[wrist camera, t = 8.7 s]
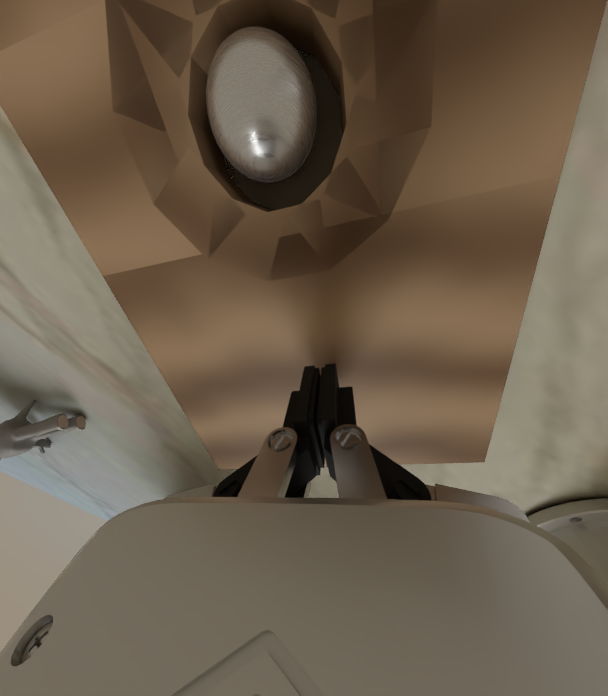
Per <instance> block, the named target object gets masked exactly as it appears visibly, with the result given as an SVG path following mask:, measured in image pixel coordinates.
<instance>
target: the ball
mask: <svg viewBox="0 0 608 696" xmlns="http://www.w3.org/2000/svg"><path fill="white" fill-rule="evenodd" d="M206 105H207V114H208V118H209V122H210V126H211V129H212V132H213V135H214V137H215V140H216V142H217V144H218V146H219V148H220V150H221V151H222V153H223V154H224V156H225V157H226V159H227V160H228V161H229V162H230V163H231V165H232V166H233V167H234V168H235V169H237V170H238V171H239V172H240V173H242V174H243V175H245V176H246V177H248V178H250V179H253V180H255V181H259V182H264V183H273V182H278V181H282V180H284V179H286V178H288V177H290V176H291V175H292V174H294V173H295V172H296V171H297V170H298V169H299V168H300V167H301V166H302V164H303V163H304V161H305V160H306V158H307V156H308V154H309V152H310V150H311V147H312V144H313V141H314V138H315V133H316V127H317V102H316V95H315V89H314V86H313V82H312V79H311V76H310V73H309V71H308V69H307V67H306V64H305V62H304V61H303V59H302V57H301V56H300V54H299V53H298V52H297V50H296V49H295V48H294V46H293V45H292V44H291V43H290V42H289V41H288V40H287V39H286V38H284V37H283V36H282V35H280V34H279V33H277V32H275V31H273V30H271V29H268V28H265V27H260V26H249V27H244V28H241V29H239V30H237V31H235V32H234V33H232V34H231V35H229V36H228V37H227V38H226V39H225V40H224V41H223V42H222V43H221V45H220V46H219V48H218V49H217V51H216V53H215V55H214V57H213V59H212V62H211V65H210V68H209V72H208V77H207V84H206Z"/></svg>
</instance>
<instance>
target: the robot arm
mask: <svg viewBox="0 0 608 696" xmlns="http://www.w3.org/2000/svg"><path fill="white" fill-rule="evenodd" d="M325 459H326V464H327V467H328V468H329V473H330V476H331V477H332V478H333V479H334V480H335V481H336V482H337V487H338V493H339V498H308V496H309V492H310V487H311V482H310V481H311V480H312V479H313V478H314V477H315V476H316V475H320V468H324V465H325ZM0 696H608V498H600V499H589V500H580V501H574V502H568V503H564V504H560V505H556V506H552V507H549V508H546V509H543V510H541V511H538V512H536V513H534V514H532V515H530V516H528V517H527V516H526V515H525V514H524V513H523V512H522V511H521V510H520V509H519V508H518V507H517V506H516V505H514V504H513V503H511V502H509V501H508V500H505V499H502V498H499V497H496V496H491V495H486V494H481V493H477V492H472V491H467V490H462V489H458V488H453V487H448V486H443V485H438V484H435V487H434V486H429V485H425V484H424V483H423V482H422V481H421V480H420V479H418V478H417V477H416V476H414V475H413V474H411V473H410V472H408V471H407V470H406V469H404V468H403V467H401V466H400V465H398V464H397V463H396V462H394V461H393V460H391V459H390V458H388V457H387V456H386V455H384V454H383V453H381V452H380V451H378V450H377V449H376V448H374V447H373V446H371V445H370V444H369V443H368V440H367V437H366V434H365V433H364V431H363V430H362V429H361V428H360V427H358V426H357V423H356V413H355V404H354V396H353V388H352V387H339V382H338V375H337V369H336V364H335V363H334V364H325V367H322V368H321V375H320V370H319V368H315V365H314V366H305V367H304V371H303V375H302V380H301V385H300V390H299V391H292V393H291V396H290V400H289V404H288V407H287V411H286V415H285V419H284V423H283V427H281V428H278V429H275V430H274V431H272V432H271V433H270V434H269V435H268V436H267V437H266V439H265V441H264V443H263V445H262V447H261V449H260V451H259V453H258V455H257V456H255V457H254V458H253V459H251V460H250V461H248V462H247V463H246V464H244V465H243V466H242V467H240V468H239V469H238V470H236V471H235V472H234V473H232V474H231V475H230V476H228V477H227V478H225V479H224V480H223V481H222V482H221V483H220V484H219V485H218V486H216V485H215V484H211V485H207V486H203V487H199V488H194V489H190V490H186V491H182V492H178V493H174V494H171V495H169V496H167V497H166V498H164V499H162V500H156V501H152V502H148V503H144V504H141V505H139V506H136V507H134V508H131V509H128V510H126V511H124V512H122V513H120V514H118V515H117V516H115V517H113V518H112V519H110V520H109V521H108V522H106V523H105V524H104V525H103V526H102V527H101V528H100V529H99V530H98V531H97V532H96V533H95V534H94V535H93V536H92V537H91V538H90V539H89V540H88V541H87V542H86V544H85V545H84V546H83V547H82V548H81V549H80V551H79V552H78V553H77V554H76V555H75V557H74V558H73V559H72V560H71V562H70V563H69V564H68V565H67V566H66V568H65V569H64V570H63V571H62V573H61V574H60V575H59V576H58V578H57V579H56V580H55V582H54V583H53V584H52V585H51V587H50V588H49V589H48V591H47V592H46V593H45V595H44V596H43V597H42V598H41V600H40V601H39V602H38V604H37V605H36V606H35V607H34V609H33V610H32V611H31V613H30V614H29V615H28V616H27V618H26V619H25V620H24V622H23V623H22V625H21V626H20V627H19V628H18V630H17V631H16V633H15V634H14V635H13V637H12V638H11V639H10V640H9V642H8V643H7V645H6V646H5V647H4V648H3V650H2V651H1V652H0Z"/></svg>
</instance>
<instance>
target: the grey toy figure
mask: <svg viewBox="0 0 608 696" xmlns="http://www.w3.org/2000/svg"><path fill="white" fill-rule="evenodd" d="M35 402H36V400H34V401H33V402H32V403H30V404H29V405H28V406H27V407H26V408H25V409H24V410H22V411H21V412H20V413H19V414H18V415H17V416H16V417H15V418H13V419H11V420H7V421H5V422H3V423H1V424H0V460H1V458H7V457H13V456H16V455H20V454H22V453H25V452H27V451H29V450H30V449H32V448H33V447H37V448H39V449H40V452H41V453H42V454H43V453H45V451H44V449H43V448H50V447H51V444H50V443H51V442H50V441H49V440H46V439H43V438H46V437H50V436H54V435H59V434H62V433H65V432H68V431H72V430H76V429H77V430H84V429H85V425H86V421H85V418H84V417H83V416H82V415H77V416H74V417H72V418H69V419H68V418H67V416H66V415H65V414H63V413H62V414H58V415H56V416H53V417H51V418H48V419H46V420H43V421H41V422H39V423H35V424H32V423H30V422H29V421H27V419H26V416H27V415H28V413H29V411H30V409H31V408H32V406H33V405H34V403H35ZM45 445H49V446H45Z"/></svg>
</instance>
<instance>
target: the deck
mask: <svg viewBox="0 0 608 696" xmlns="http://www.w3.org/2000/svg"><path fill="white" fill-rule="evenodd" d="M606 2H607V0H0V105H1V107H2V109H3V110H4V112H5V114H6V115H7V117H8V119H9V120H10V122H11V124H12V125H13V127H14V129H15V130H16V132H17V134H18V135H19V137H20V139H21V140H22V142H23V144H24V145H25V147H26V149H27V150H28V152H29V154H30V155H31V157H32V159H33V160H34V162H35V164H36V165H37V167H38V169H39V170H40V172H41V174H42V176H43V177H44V179H45V181H46V182H47V184H48V186H49V187H50V189H51V191H52V192H53V194H54V196H55V197H56V199H57V201H58V202H59V204H60V206H61V207H62V209H63V211H64V212H65V214H66V216H67V217H68V219H69V221H70V222H71V224H72V226H73V227H74V229H75V231H76V232H77V234H78V236H79V237H80V239H81V241H82V242H83V244H84V246H85V247H86V249H87V251H88V252H89V254H90V256H91V257H92V259H93V261H94V262H95V264H96V266H97V267H98V269H99V271H100V272H101V274H102V276H103V277H104V279H105V281H106V282H107V284H108V286H109V287H110V289H111V291H112V292H113V294H114V296H115V297H116V299H117V301H118V302H119V304H120V306H121V307H122V309H123V311H124V312H125V314H126V316H127V317H128V319H129V321H130V322H131V324H132V326H133V327H134V329H135V331H136V332H137V334H138V336H139V337H140V339H141V341H142V342H143V344H144V346H145V347H146V349H147V351H148V353H149V354H150V356H151V358H152V359H153V361H154V363H155V364H156V366H157V368H158V369H159V371H160V373H161V374H162V376H163V378H164V379H165V381H166V383H167V384H168V386H169V388H170V389H171V391H172V393H173V394H174V396H175V398H176V399H177V401H178V403H179V404H180V406H181V408H182V409H183V411H184V413H185V414H186V416H187V418H188V419H189V421H190V423H191V424H192V426H193V428H194V429H195V431H196V433H197V434H198V436H199V438H200V439H201V441H202V443H203V444H204V446H205V448H206V449H207V451H208V453H209V454H210V456H211V458H212V459H213V461H214V463H215V464H216V466H217V468H218V469H219V470H220V469H239V468H240V467H242V466H243V465H244V464H246V463H247V462H248V461H250V460H251V459H253V458H254V457H255V456H257V455H258V453H259V451H260V449H261V447H262V445H263V443H264V441H265V439H266V437H267V436H268V435H269V434H270V433H271V432H272V431H274V430H275V429H278V428H281V427H283V423H284V419H285V415H286V411H287V407H288V404H289V400H290V396H291V393H292V391H299V390H300V385H301V380H302V375H303V371H304V367H305V366H314V365H315V368H319V370H320V375H321V368H322V367H325V364H334V363H335V364H336V369H337V375H338V382H339V387H352V388H353V396H354V404H355V413H356V423H357V426H358V427H360V428H361V429H362V430H363V431H364V433H365V434H366V437H367V440H368V443H369V444H370V445H371V446H373V447H374V448H376V449H377V450H378V451H380V452H381V453H383V454H384V455H386V456H387V457H388V458H390V459H391V460H393V461H394V462H396V463H397V464H398V465H399V464H435V463H471V462H485V458H486V454H487V451H488V447H489V443H490V439H491V435H492V432H493V428H494V424H495V420H496V417H497V413H498V409H499V405H500V402H501V398H502V394H503V390H504V386H505V383H506V379H507V375H508V371H509V368H510V364H511V360H512V356H513V352H514V349H515V345H516V341H517V337H518V334H519V330H520V326H521V322H522V319H523V315H524V311H525V307H526V303H527V300H528V296H529V292H530V288H531V285H532V281H533V277H534V273H535V270H536V266H537V262H538V258H539V254H540V251H541V247H542V243H543V239H544V236H545V232H546V228H547V224H548V221H549V217H550V213H551V209H552V205H553V202H554V198H555V194H556V190H557V187H558V183H559V179H560V175H561V171H562V168H563V164H564V160H565V156H566V153H567V149H568V145H569V141H570V138H571V134H572V130H573V126H574V122H575V119H576V115H577V111H578V107H579V104H580V100H581V96H582V92H583V89H584V85H585V81H586V77H587V73H588V70H589V66H590V62H591V58H592V55H593V51H594V47H595V43H596V40H597V36H598V32H599V28H600V24H601V21H602V17H603V13H604V9H605V6H606ZM249 26H260V27H265V28H268V29H271V30H273V31H275V32H277V33H279V34H280V35H282V36H283V37H284V38H286V39H287V40H288V41H289V42H290V43H291V44H292V45H293V46H294V47H295V48H297V49H299V50H302V51H304V52H306V53H308V54H311V55H313V56H315V57H316V58H317V59H318V61H319V63H320V64H321V66H322V68H323V69H324V71H325V73H326V74H327V76H328V78H329V79H330V81H331V83H332V84H333V86H334V88H335V89H336V91H337V93H338V94H339V97H340V108H341V119H342V130H343V137H342V140H341V143H340V146H339V149H338V152H337V156H336V159H335V162H334V165H333V168H332V171H331V174H330V175H329V176H328V177H327V178H326V179H325V180H324V181H323V182H322V183H321V184H320V185H319V186H318V187H317V188H316V189H315V191H314V192H313V193H312V194H311V195H310V196H309V197H308V198H307V199H306V200H305V201H304V202H303V203H302V204H299V205H295V206H291V207H287V208H283V209H279V210H275V211H273V210H270V209H267V208H265V207H262V206H260V205H257V204H255V203H252V202H250V201H249V199H248V198H247V197H246V196H245V194H244V193H243V192H242V191H241V190H240V188H239V187H238V186H237V185H236V184H235V182H234V181H233V180H232V179H231V178H230V176H229V175H228V172H227V169H226V165H225V162H224V158H223V155H222V151H221V150H220V148H219V146H218V144H217V142H216V140H215V137H214V135H213V132H212V129H211V126H210V122H209V118H208V114H207V105H206V84H207V77H208V72H209V68H210V65H211V62H212V59H213V57H214V55H215V53H216V51H217V49H218V48H219V46H220V45H221V43H222V42H223V41H224V40H225V39H226V38H227V37H228V36H229V35H231V34H232V33H234V32H235V31H237V30H239V29H241V28H244V27H249ZM324 467H327V464H326V459H325V465H324Z"/></svg>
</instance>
